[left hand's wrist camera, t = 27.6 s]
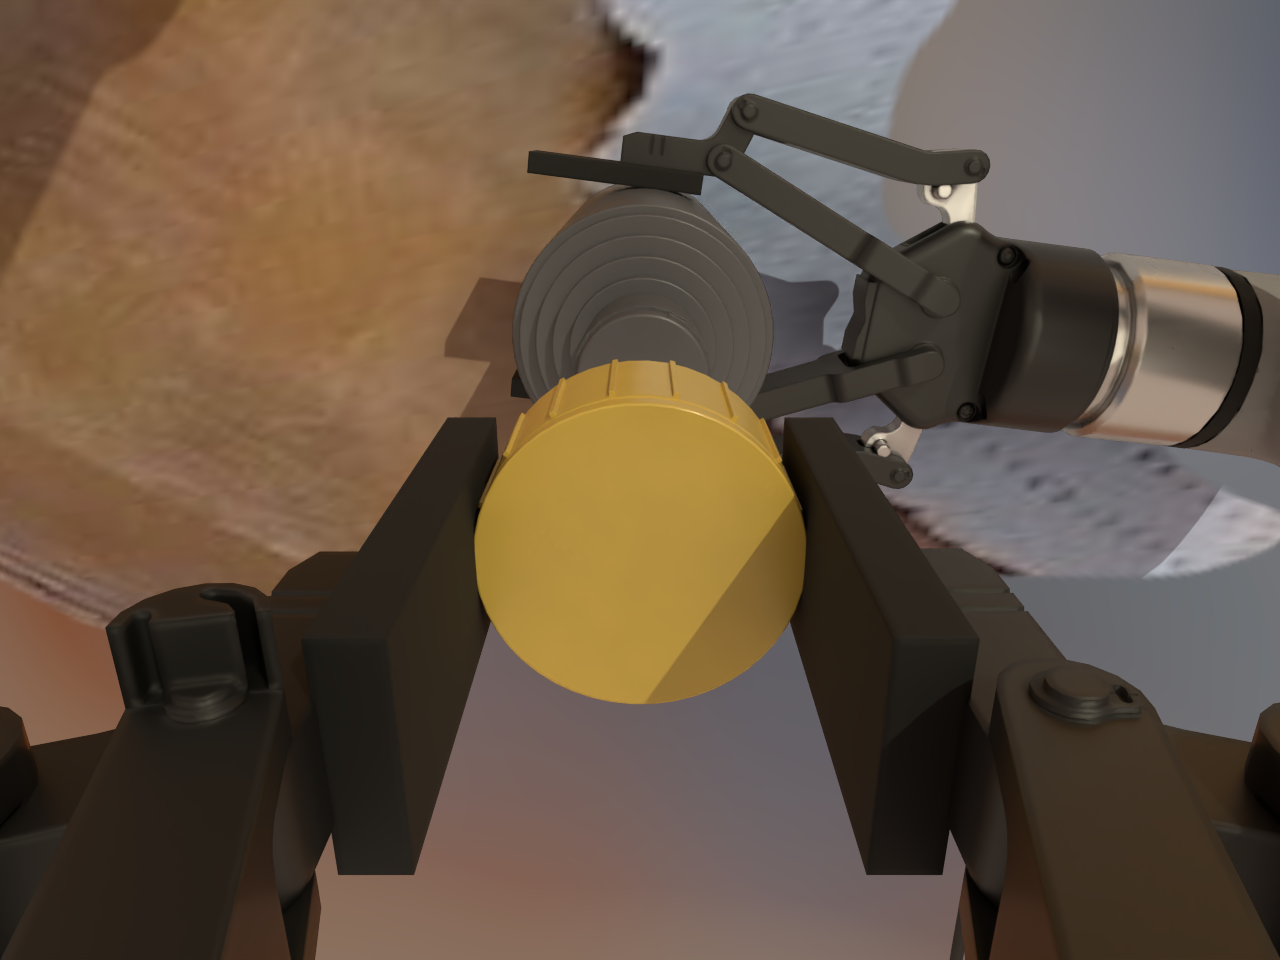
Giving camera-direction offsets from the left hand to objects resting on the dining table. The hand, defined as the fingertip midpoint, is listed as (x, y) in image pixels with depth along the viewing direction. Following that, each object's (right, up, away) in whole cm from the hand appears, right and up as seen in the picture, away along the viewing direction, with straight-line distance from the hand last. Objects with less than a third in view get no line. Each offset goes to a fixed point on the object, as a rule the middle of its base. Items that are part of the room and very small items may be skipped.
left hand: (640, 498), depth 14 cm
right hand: (-5, +9, +22) cm, 24 cm away
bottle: (0, +10, +28) cm, 29 cm away
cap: (0, -1, -2) cm, 2 cm away
